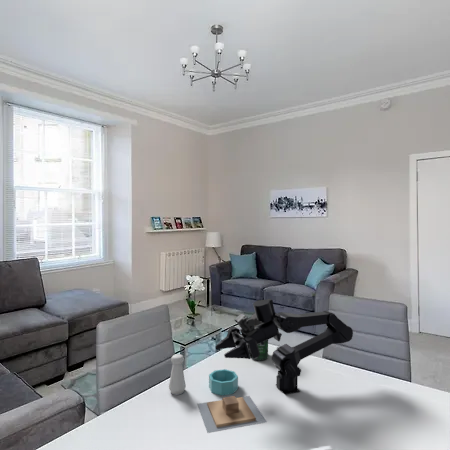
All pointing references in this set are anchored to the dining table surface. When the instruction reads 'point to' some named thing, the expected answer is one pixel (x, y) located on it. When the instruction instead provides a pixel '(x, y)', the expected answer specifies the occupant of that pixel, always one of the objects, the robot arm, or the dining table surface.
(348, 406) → the dining table surface
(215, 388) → the bowl
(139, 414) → the dining table surface
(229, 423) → the lid
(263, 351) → the coffee jar
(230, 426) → the mat
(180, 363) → the salt shaker
